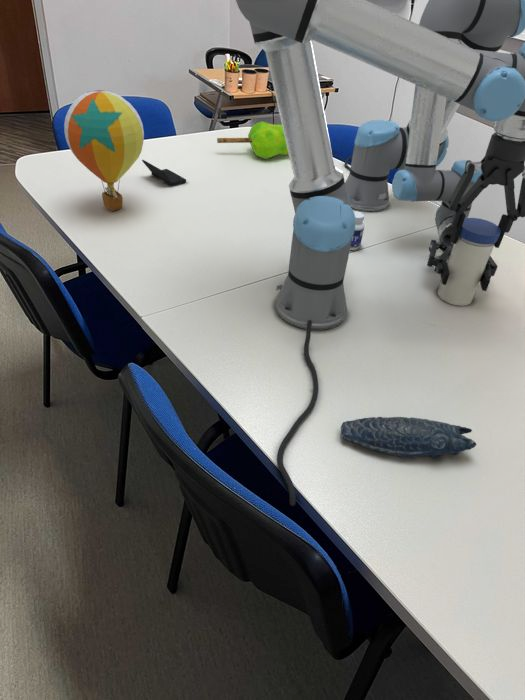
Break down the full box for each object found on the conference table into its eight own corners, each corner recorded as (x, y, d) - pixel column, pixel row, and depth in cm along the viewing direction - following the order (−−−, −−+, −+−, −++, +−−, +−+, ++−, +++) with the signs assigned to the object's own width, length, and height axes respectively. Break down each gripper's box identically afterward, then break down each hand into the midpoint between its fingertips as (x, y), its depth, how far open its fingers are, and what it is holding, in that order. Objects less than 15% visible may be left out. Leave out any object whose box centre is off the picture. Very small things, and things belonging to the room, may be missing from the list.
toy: (64, 203, 145) (44, 85, 127) (127, 189, 156) (117, 79, 137) (97, 229, 134) (80, 105, 116) (162, 213, 145) (156, 96, 126)
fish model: (474, 470, 81) (484, 449, 78) (339, 453, 82) (344, 431, 79) (465, 439, 86) (475, 417, 83) (339, 423, 87) (344, 401, 84)
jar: (467, 288, 125) (491, 224, 115) (476, 307, 119) (502, 240, 109) (434, 285, 125) (455, 221, 115) (441, 304, 119) (464, 237, 108)
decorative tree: (214, 118, 187) (294, 118, 193) (214, 147, 194) (292, 146, 199) (220, 132, 174) (307, 132, 179) (220, 164, 180) (304, 162, 185)
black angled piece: (190, 175, 164) (173, 153, 156) (179, 193, 163) (161, 172, 155) (166, 170, 170) (147, 148, 162) (155, 188, 169) (136, 167, 161)
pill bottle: (338, 247, 137) (344, 215, 131) (342, 239, 140) (348, 208, 135) (357, 252, 135) (364, 220, 130) (361, 243, 139) (368, 212, 134)
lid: (499, 232, 114) (503, 224, 113) (495, 248, 108) (499, 239, 107) (459, 222, 117) (462, 214, 115) (453, 237, 110) (456, 228, 109)
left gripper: (462, 136, 96) (428, 246, 111) (576, 147, 96) (528, 255, 110) (453, 124, 102) (422, 230, 116) (560, 135, 102) (517, 239, 116)
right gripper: (491, 256, 133) (508, 304, 116) (409, 244, 135) (413, 289, 118) (502, 230, 129) (521, 275, 111) (417, 217, 131) (422, 260, 113)
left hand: (474, 242), depth 113 cm, fingers closed on lid, 9 cm apart
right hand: (466, 282), depth 114 cm, fingers closed on jar, 8 cm apart
